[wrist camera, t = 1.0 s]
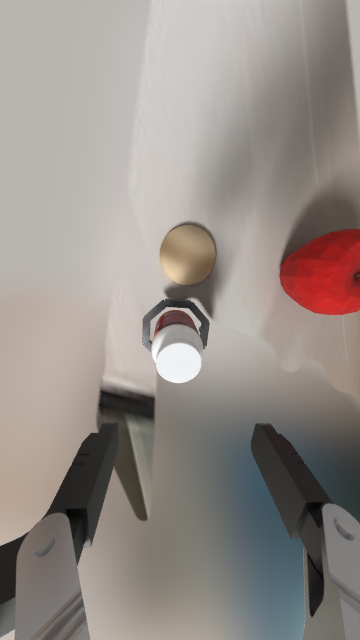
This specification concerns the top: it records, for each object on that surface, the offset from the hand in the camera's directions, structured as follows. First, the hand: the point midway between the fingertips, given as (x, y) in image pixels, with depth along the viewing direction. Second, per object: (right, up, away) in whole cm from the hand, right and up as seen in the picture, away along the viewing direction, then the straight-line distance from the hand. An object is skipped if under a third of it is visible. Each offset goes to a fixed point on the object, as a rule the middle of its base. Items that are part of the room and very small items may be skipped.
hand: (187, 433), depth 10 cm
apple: (+18, +14, +17) cm, 28 cm away
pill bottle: (-1, +5, +18) cm, 19 cm away
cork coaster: (+1, +16, +15) cm, 22 cm away
